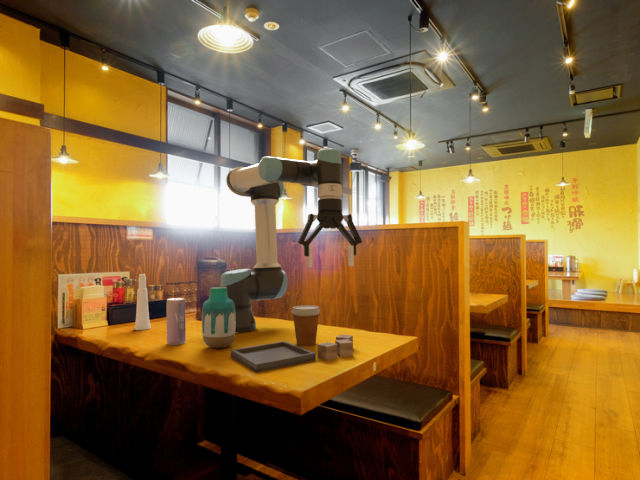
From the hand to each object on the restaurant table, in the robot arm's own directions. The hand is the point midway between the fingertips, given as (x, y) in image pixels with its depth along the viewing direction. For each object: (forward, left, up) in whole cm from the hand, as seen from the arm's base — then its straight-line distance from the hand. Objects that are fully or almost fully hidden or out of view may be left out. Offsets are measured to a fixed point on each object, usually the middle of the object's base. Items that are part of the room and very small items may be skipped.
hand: (330, 266), depth 122 cm
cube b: (+7, -1, -26) cm, 27 cm away
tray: (-2, -20, -26) cm, 32 cm away
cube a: (+7, -7, -26) cm, 28 cm away
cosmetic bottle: (-72, -43, -26) cm, 87 cm away
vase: (-24, -28, -26) cm, 45 cm away
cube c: (+2, +3, -26) cm, 26 cm away
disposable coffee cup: (-11, -3, -26) cm, 28 cm away
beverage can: (-38, -38, -26) cm, 59 cm away
